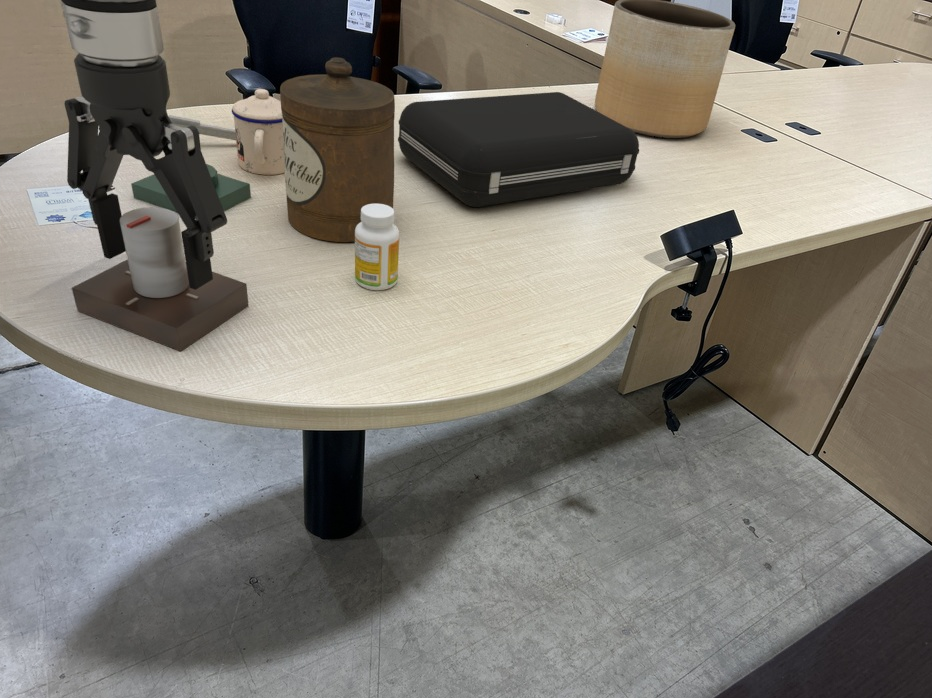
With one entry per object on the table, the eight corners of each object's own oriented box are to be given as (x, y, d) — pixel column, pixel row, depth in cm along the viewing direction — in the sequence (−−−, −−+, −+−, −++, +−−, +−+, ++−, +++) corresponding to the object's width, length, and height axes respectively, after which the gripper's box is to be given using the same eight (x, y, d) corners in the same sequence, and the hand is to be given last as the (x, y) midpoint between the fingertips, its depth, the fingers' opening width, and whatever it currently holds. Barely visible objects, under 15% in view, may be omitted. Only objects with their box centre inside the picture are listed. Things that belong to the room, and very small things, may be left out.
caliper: (154, 147, 117) (147, 108, 114) (154, 145, 118) (147, 105, 114) (286, 147, 125) (284, 110, 121) (285, 145, 125) (283, 108, 122)
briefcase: (536, 126, 150) (543, 76, 144) (639, 188, 131) (652, 133, 125) (374, 142, 131) (375, 85, 125) (466, 217, 112) (472, 154, 106)
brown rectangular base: (77, 311, 81) (70, 286, 79) (152, 270, 89) (148, 247, 87) (180, 351, 77) (176, 326, 75) (248, 305, 86) (246, 282, 84)
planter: (724, 144, 157) (759, 33, 144) (615, 138, 151) (640, 22, 137) (677, 105, 176) (704, 4, 163) (578, 98, 170) (597, -7, 156)
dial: (160, 267, 84) (148, 199, 79) (200, 282, 83) (190, 214, 78) (121, 288, 80) (106, 217, 75) (162, 303, 78) (149, 233, 73)
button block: (133, 198, 103) (128, 170, 100) (184, 176, 111) (181, 150, 108) (203, 222, 100) (200, 194, 98) (251, 197, 108) (248, 171, 105)
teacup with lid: (241, 152, 120) (234, 78, 113) (299, 156, 122) (295, 84, 115) (229, 181, 111) (221, 103, 104) (291, 186, 113) (287, 109, 106)
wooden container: (281, 199, 109) (270, 40, 95) (379, 196, 114) (383, 45, 101) (295, 246, 98) (286, 75, 85) (403, 240, 103) (411, 79, 90)
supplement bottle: (388, 267, 97) (390, 198, 91) (403, 288, 93) (407, 217, 88) (349, 273, 95) (348, 202, 89) (363, 294, 91) (363, 222, 85)
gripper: (-16, 33, 66) (46, 251, 80) (195, 93, 61) (223, 315, 75) (54, 21, 72) (101, 226, 85) (253, 75, 67) (269, 284, 80)
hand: (158, 268), depth 80 cm, fingers open, 11 cm apart
